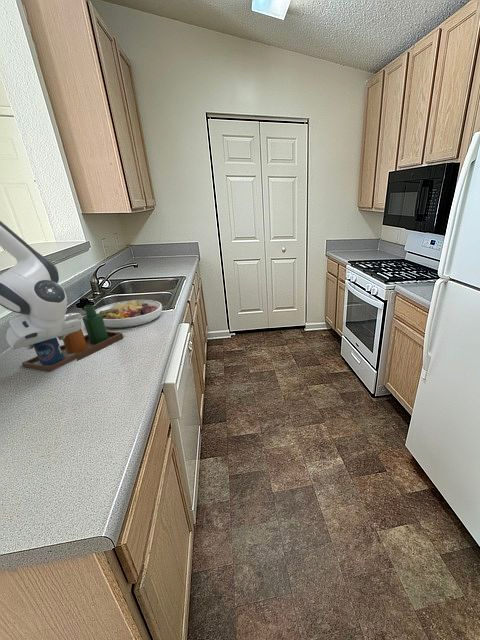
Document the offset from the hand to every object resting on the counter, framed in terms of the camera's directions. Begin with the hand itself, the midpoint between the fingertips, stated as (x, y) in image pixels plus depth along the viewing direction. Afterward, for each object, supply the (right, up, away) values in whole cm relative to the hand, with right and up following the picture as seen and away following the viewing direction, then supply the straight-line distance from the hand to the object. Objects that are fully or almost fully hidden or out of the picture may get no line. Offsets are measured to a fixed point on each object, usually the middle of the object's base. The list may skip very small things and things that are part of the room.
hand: (45, 342), depth 113 cm
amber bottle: (+3, -3, +13) cm, 13 cm away
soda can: (0, -7, +4) cm, 8 cm away
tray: (+3, -3, +13) cm, 13 cm away
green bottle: (+6, +1, +21) cm, 22 cm away
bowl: (+6, +14, +46) cm, 48 cm away
